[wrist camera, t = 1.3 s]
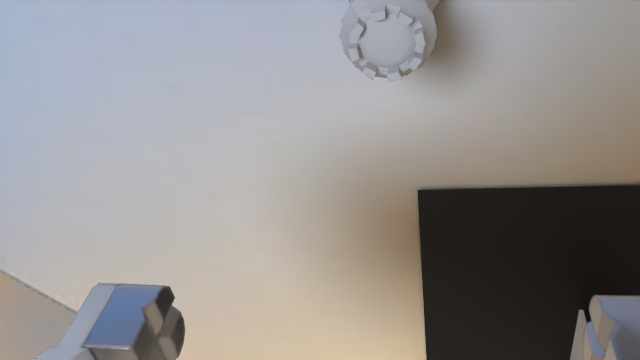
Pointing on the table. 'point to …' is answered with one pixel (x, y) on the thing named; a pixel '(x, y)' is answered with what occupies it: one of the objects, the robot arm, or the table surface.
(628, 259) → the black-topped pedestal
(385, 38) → the rook chess piece
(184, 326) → the robot arm
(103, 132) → the table surface
